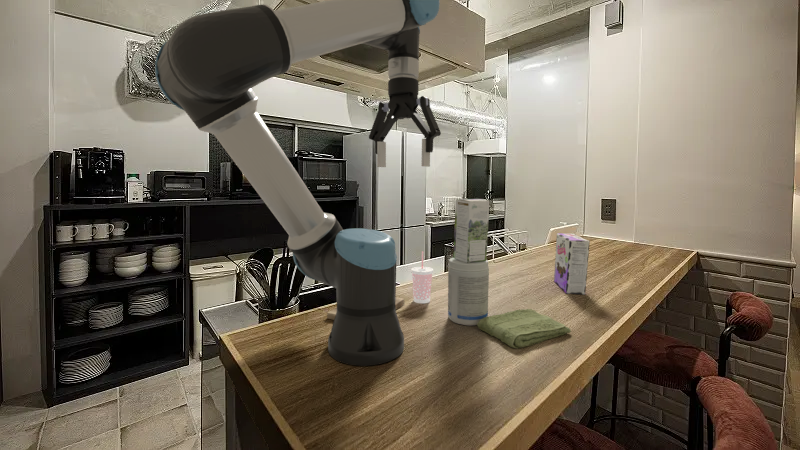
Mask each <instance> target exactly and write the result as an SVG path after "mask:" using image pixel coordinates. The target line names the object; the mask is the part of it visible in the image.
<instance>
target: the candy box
mask: <svg viewBox="0 0 800 450" xmlns="http://www.w3.org/2000/svg"><path fill="white" fill-rule="evenodd" d="M555 240H556V243H555V259H554V260H555V261H554V274H553V275H554V276H553V281H554V283H555V284H556V285H557V286H558V287H559V288H560V289H561V290H562V291H563V292H564V293H565V294H568V295H569V294H571V295H583V296H584V295H586V292H587V291H586V290H587V279H588V267H589V265H588V264H589V255H590V243H591V242H590V240H588V239H586V238H583V237H581V236H579V235H577V234H576V233H567V232H566V233H565V232H564V233H561V232H560V233H559V232H558V233H556V239H555Z"/></svg>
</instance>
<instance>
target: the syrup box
mask: <svg viewBox="0 0 800 450" xmlns="http://www.w3.org/2000/svg"><path fill="white" fill-rule="evenodd" d="M454 203H455V205H454V208H455V209H454V232H453V234H454V235H453V253H452V254H453V256H452V258H454V259H457V260H460V261H463V262H466V263H471V262H481V261H486V260H487V258H488V257H487V255H488V253H487V252H488V239H489V238H488V236H489V220H490V219H489V218H490V214H489V213H490V200H488V199H484V198H462V199H461V198H458V199H455V202H454Z"/></svg>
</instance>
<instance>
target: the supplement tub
mask: <svg viewBox="0 0 800 450" xmlns="http://www.w3.org/2000/svg"><path fill="white" fill-rule="evenodd" d="M447 266H448V269H447V270H448V272H447V274H448V275H447V290H448V291H447V316H448V319H449V320H450V321H451V322H453V323H455V324H459V325H462V326H463V325H464V326H477V325H478V322H479V320H481V319H483V318H484V317H485V318H486V317H489V281H490V280H489V279H490V278H489V277H490V273H489V271H490V268H489V261H488V259H486V261H481V262H471V263H466V262H463V261H460V260H457V259H454V258H453V257H451V258H448V265H447Z"/></svg>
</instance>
